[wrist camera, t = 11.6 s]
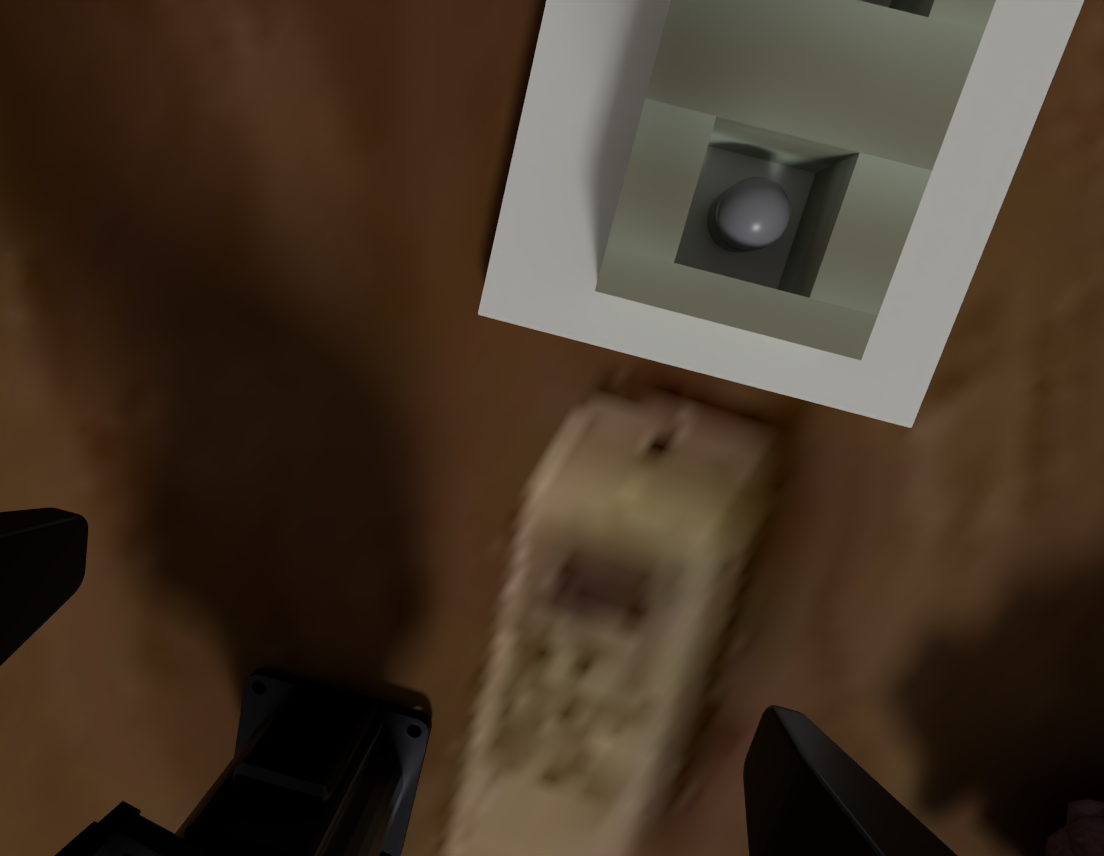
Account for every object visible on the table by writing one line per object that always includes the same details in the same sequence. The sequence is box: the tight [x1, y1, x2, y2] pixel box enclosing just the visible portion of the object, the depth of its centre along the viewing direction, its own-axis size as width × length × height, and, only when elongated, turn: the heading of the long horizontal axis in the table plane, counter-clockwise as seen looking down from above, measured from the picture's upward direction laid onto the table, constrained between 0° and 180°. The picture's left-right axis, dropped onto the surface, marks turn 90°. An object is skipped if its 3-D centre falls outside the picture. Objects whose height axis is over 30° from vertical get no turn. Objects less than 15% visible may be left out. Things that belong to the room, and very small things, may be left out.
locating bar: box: [595, 0, 996, 360], centre depth 14 cm, size 12×6×3 cm, turn 166°
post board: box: [478, 0, 1084, 428], centre depth 15 cm, size 14×12×5 cm
